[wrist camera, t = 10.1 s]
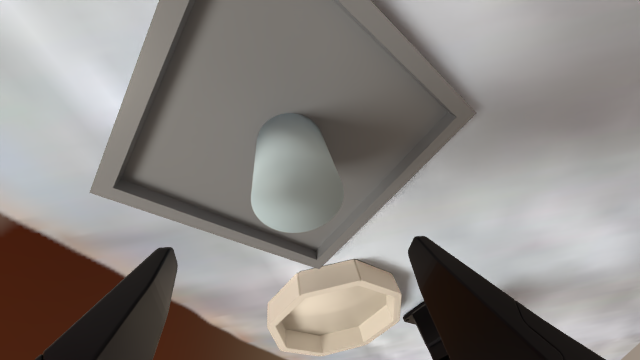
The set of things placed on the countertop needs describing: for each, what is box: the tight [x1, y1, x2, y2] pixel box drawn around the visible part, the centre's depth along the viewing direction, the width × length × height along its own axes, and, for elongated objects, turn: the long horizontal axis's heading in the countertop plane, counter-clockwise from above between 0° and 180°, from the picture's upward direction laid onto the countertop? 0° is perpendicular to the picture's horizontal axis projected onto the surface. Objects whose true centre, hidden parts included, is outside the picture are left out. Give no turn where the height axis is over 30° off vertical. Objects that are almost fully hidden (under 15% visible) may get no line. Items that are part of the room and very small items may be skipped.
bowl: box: [267, 259, 402, 356], centre depth 29 cm, size 15×15×2 cm
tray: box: [90, 0, 476, 269], centre depth 17 cm, size 18×18×2 cm
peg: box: [251, 113, 344, 233], centre depth 15 cm, size 4×4×6 cm
